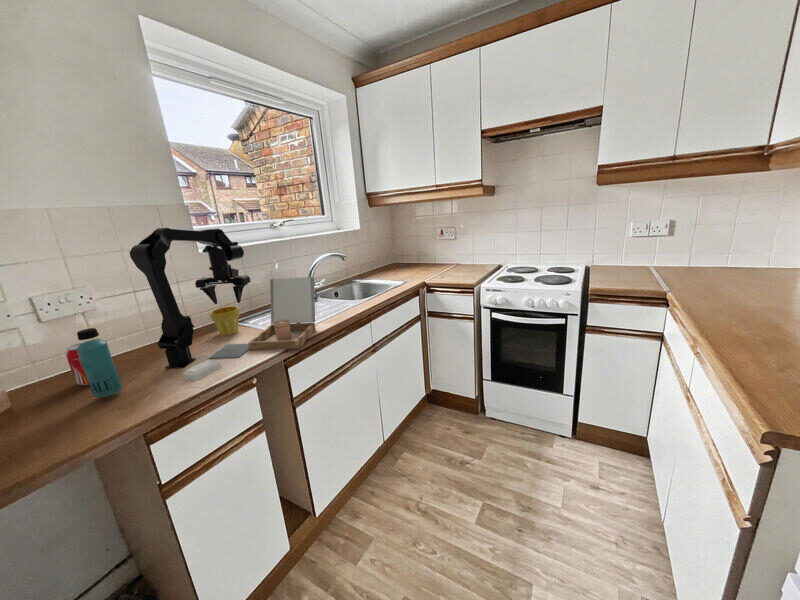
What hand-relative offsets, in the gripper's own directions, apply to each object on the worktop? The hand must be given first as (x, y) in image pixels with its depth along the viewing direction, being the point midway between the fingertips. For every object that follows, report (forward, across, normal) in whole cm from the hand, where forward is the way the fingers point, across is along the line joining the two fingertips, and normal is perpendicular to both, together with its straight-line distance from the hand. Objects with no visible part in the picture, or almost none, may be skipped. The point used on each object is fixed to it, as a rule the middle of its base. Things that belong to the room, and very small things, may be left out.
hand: (227, 303), depth 130 cm
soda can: (+15, +28, +32) cm, 45 cm away
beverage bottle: (+15, +13, +42) cm, 46 cm away
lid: (+2, -23, -6) cm, 24 cm away
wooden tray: (+14, -23, +6) cm, 27 cm away
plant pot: (+14, +5, -5) cm, 16 cm away
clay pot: (+14, -23, +6) cm, 27 cm away
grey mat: (+14, -7, +14) cm, 21 cm away
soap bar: (+15, -6, +29) cm, 33 cm away
